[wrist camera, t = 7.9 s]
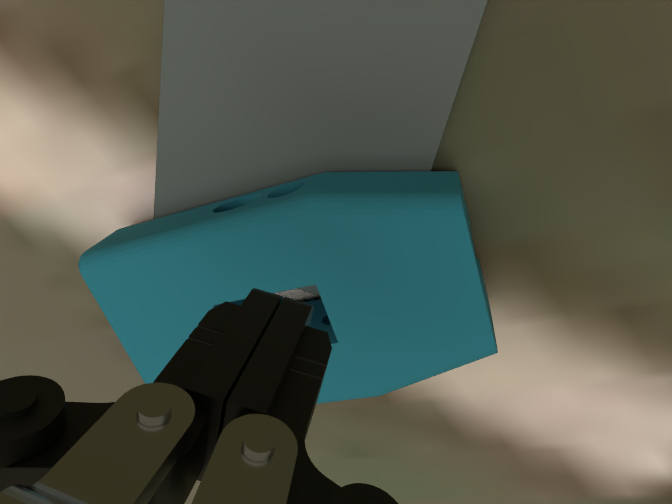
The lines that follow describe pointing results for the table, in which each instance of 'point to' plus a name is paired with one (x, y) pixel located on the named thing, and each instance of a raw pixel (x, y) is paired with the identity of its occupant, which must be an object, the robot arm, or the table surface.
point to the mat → (302, 91)
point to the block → (311, 274)
